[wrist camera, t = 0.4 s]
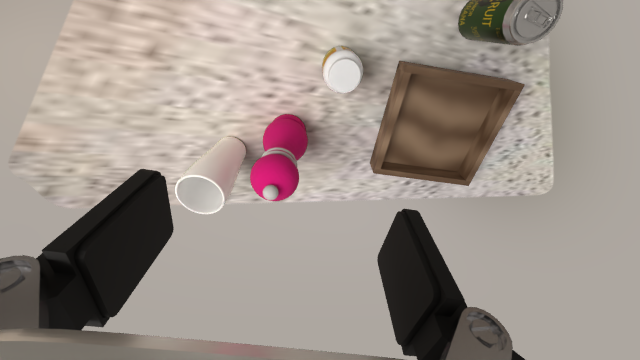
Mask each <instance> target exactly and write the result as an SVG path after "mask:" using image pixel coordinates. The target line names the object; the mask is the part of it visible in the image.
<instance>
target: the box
mask: <svg viewBox="0 0 640 360" xmlns="http://www.w3.org/2000/svg"><path fill="white" fill-rule="evenodd" d="M524 85H525V84H521V83H518V82H515V81H512V80H508V79H503V78H497V77H491V76H485V75H480V74H474V73H468V72H462V71H456V70H450V69H444V68H438V67H432V66H427V65H421V64H415V63H409V62H403V61H399V64H398V67H397V71H396V74H395V78H394V81H393V84H392V88H391V91H390V95H389V98H388V102H387V105H386V109H385V112H384V116H383V119H382V122H381V126H380V129H379V133H378V136H377V140H376V143H375V147H374V150H373V154H372V157H371V160H370V164H371V167H372V170H373V173H376V174H383V175H391V176H398V177H406V178H414V179H421V180H429V181H436V182H444V183H451V184H459V185H466V186H469V184H470V182H471V180H472V179H473V177H474V175H475V173H476V171H477V170H478V168H479V166H480V164H481V162H482V161H483V159H484V157H485V155H486V153H487V152H488V150H489V148H490V146H491V144H492V143H493V141H494V139H495V137H496V135H497V134H498V132H499V130H500V128H501V126H502V125H503V123H504V121H505V119H506V117H507V116H508V114H509V112H510V110H511V108H512V107H513V105H514V103H515V101H516V99H517V98H518V96H519V94H520V92H521V90H522V89H523V87H524Z"/></svg>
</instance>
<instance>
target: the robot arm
mask: <svg viewBox="0 0 640 360" xmlns="http://www.w3.org/2000/svg"><path fill="white" fill-rule="evenodd" d="M172 233H173V223H172V216H171V210H170V204H169V198H168V192H167V186H166V180H165V177H164V176H161V174H160V172H158V171H153V170H146V169H140V170H139V171H137V172H136V173H135V174H134V175H133V176H131V177H130V178H129V179H128V180H127V181H125V182H124V183H123V184H122V185H120V186H119V187H118V188H117V189H116V190H114V191H113V192H112V193H111V194H109V195H108V196H107V197H106V198H105V199H103V200H102V201H101V202H100V203H99V204H97V205H96V206H95V207H94V208H92V209H91V210H90V211H89V212H88V213H86V214H85V215H84V216H83V217H82V218H80V219H79V220H78V221H77V222H75V223H74V224H73V225H72V226H71V227H70V228H68V229H67V230H66V231H64V232H63V233H62V234H61V235H60V236H58V237H57V238H56V239H55V240H54V241H52V242H51V243H50V244H49V245H47V246H46V247H45V248H44V249H43V250H42V252H43V253H42V254H41V255H40V256H38V258H36V259H35V258H34V257H30V256H24V255H23V256H11V257H6V258H1V259H0V360H403V359H395V358H386V357H377V356H366V355H357V354H346V353H335V352H326V351H314V350H305V349H294V348H283V347H272V346H261V345H250V344H238V343H228V342H216V341H206V340H194V339H182V338H171V337H159V336H148V335H135V334H124V333H110V332H96V331H82V328H83V327H84V326H95V327H104V325H105V324H106V322H107V321H108V320H109V318H110V317H114V316H115V315H117V313H118V312H119V311H120V309H121V308H122V306H123V305H124V304H125V302H126V301H127V299H128V298H129V296H130V295H131V293H132V292H133V291H134V289H135V288H136V286H137V285H138V283H139V282H140V280H141V279H142V278H143V276H144V275H145V273H146V272H147V270H148V269H149V267H150V266H151V265H152V263H153V262H154V260H155V259H156V257H157V256H158V254H159V253H160V252H161V250H162V249H163V247H164V246H165V244H166V243H167V242H168V240H169V239H170V237H171V235H172ZM378 266H379V270H380V274H381V279H382V283H383V287H384V291H385V295H386V299H387V304H388V308H389V311H390V316H391V320H392V325H393V329H394V333H395V337H396V341H397V343H398V344H399V345H401V346H402V350H403V354H404V355H409V356H417V359H418V360H525V359H524V358H522V357H521V356H520V355H518V354H517V353H516V352H515V351H513V350H512V349H513V347H512V340H511V338H510V336H509V333H508V332H507V330H506V329H505V327H504V326H503V325H502V324H501V323H500V322H499V321H498V320H497V319H496V318H495V317H494V316H492V315H491V314H490V313H488V312H486V311H484V310H482V309H479V308H476V307H467V305H466V303H465V301H464V298H463V296H462V294H461V292H460V290H459V288H458V286H457V284H456V283H455V281H454V279H453V277H452V275H451V273H450V271H449V269H448V267H447V265H446V264H445V261H444V259H443V257H442V255H441V254H440V252H439V250H438V248H437V246H436V244H435V242H434V240H433V238H432V236H431V234H430V233H429V230H428V228H427V227H426V225H425V223H424V221H423V219H422V217H421V215H420V213H419V212H418V211H416V210H409V209H403V210H402V211H401V212H397V214H396V216H395V219H394V221H393V223H392V225H391V228H390V230H389V232H388V234H387V237H386V239H385V241H384V243H383V245H382V248H381V250H380V252H379V254H378Z"/></svg>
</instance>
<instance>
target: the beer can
mask: <svg viewBox="0 0 640 360" xmlns="http://www.w3.org/2000/svg"><path fill="white" fill-rule="evenodd" d="M562 9H563V0H470V1H469V2H468V3H467V4H466V5H465V7H464V8H463V10H462V11H461V14H460V16H459V21H458V26H459V31H460V33H461V35H462V36H463V37H465V38H466V39H470V40H477V41H486V42H494V43H502V44H511V45H525V44H528V43H533V42H536V41H538V40H540V39H542V38H543V37H544V36H546V35H547V34H548V33H549V32H550V31H551V30H552V29H553V28H554V27H555V25H556V23H557V22H558V20H559V18H560V16H561V12H562Z"/></svg>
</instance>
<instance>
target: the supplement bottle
mask: <svg viewBox="0 0 640 360" xmlns="http://www.w3.org/2000/svg"><path fill="white" fill-rule="evenodd" d="M322 68H323V78H324V81H325V83H326V84H327V86H328V87H329V88H330V89H331V90H332V91H334V92H337V93H348V92H351V91H352V90H354V89H355V88H356V87H357V86H358V85H359V84H360V82H361V80H362V77H363V65H362V62H361V60H360V59H359V57H358V56H357V55H356V54H355V53H354V52H353V51H352V50H350V49H349V48H347V47H344V46H337V47H334V48H332V49H331V50H329V51H328V52H327V54H326V55H325V57H324V60H323V65H322Z"/></svg>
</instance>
